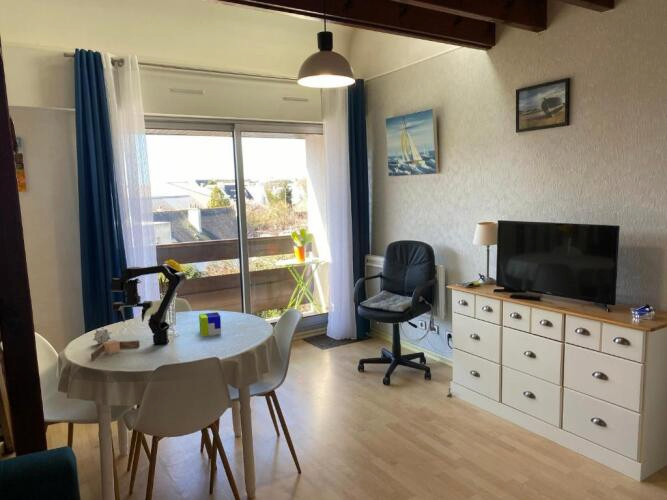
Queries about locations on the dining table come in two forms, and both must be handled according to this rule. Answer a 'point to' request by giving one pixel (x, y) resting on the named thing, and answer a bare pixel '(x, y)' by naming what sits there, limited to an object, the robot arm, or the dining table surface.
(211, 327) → the puzzle toy
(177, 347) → the dining table surface
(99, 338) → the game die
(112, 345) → the cube
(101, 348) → the arena
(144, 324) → the dining table surface
